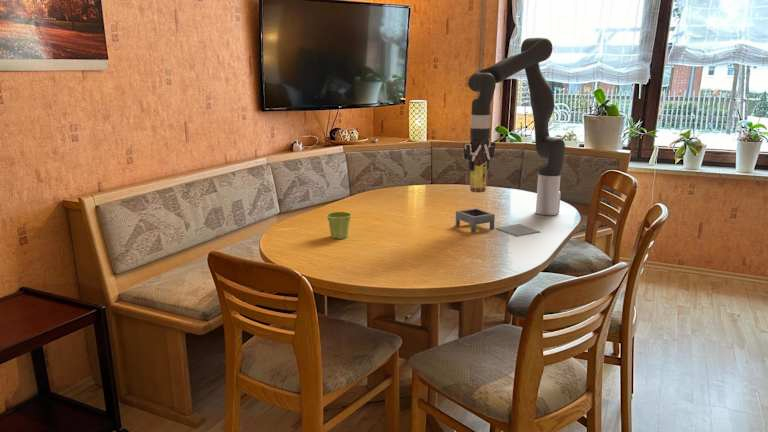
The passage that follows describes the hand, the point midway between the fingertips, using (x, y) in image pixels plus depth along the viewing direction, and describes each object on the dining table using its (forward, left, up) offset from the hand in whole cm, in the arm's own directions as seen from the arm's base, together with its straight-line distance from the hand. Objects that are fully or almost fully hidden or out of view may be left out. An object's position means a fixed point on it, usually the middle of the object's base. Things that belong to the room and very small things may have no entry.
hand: (478, 169), depth 225 cm
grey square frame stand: (+1, 0, -23) cm, 23 cm away
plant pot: (+54, -14, -24) cm, 60 cm away
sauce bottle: (0, 0, -9) cm, 9 cm away
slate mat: (-11, +12, -23) cm, 29 cm away
